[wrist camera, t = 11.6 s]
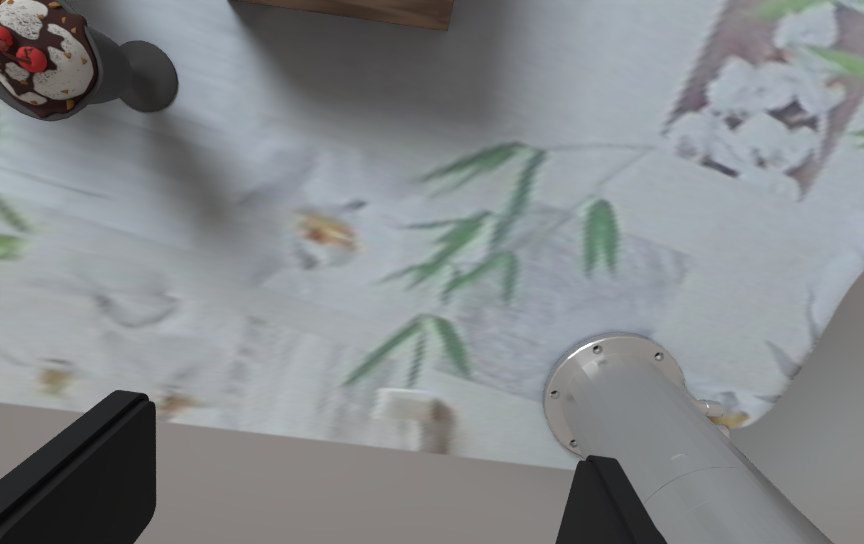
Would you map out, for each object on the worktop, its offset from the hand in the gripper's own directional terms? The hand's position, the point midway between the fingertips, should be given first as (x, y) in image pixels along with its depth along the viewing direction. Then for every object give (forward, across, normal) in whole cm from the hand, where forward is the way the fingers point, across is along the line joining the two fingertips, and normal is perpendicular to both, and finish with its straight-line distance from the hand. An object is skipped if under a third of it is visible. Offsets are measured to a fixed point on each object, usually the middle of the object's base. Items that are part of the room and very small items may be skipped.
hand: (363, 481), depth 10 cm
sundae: (+29, +22, -9) cm, 37 cm away
